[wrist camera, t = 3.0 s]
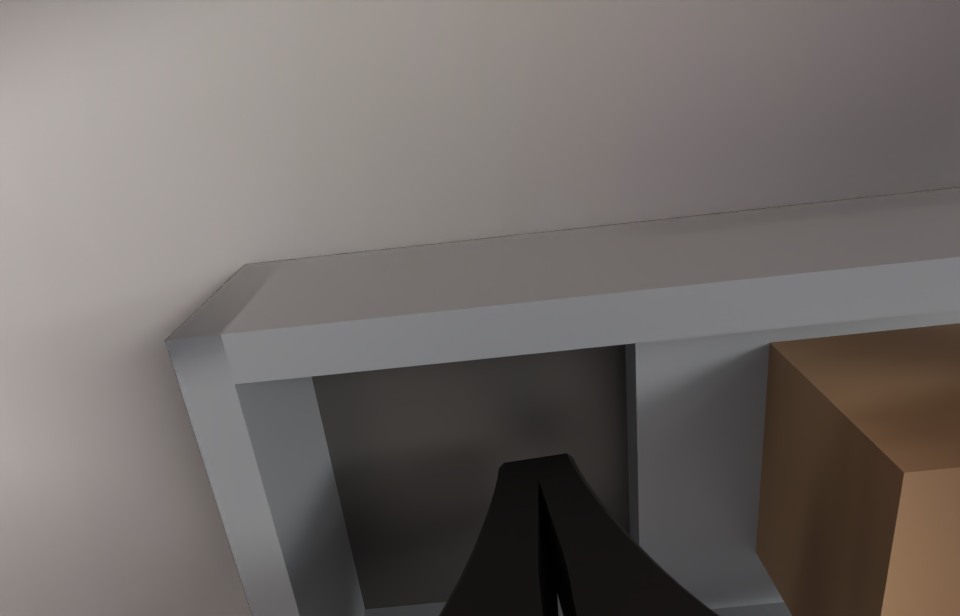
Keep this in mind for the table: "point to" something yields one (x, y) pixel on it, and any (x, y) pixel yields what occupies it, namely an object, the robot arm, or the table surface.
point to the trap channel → (531, 389)
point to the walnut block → (863, 473)
